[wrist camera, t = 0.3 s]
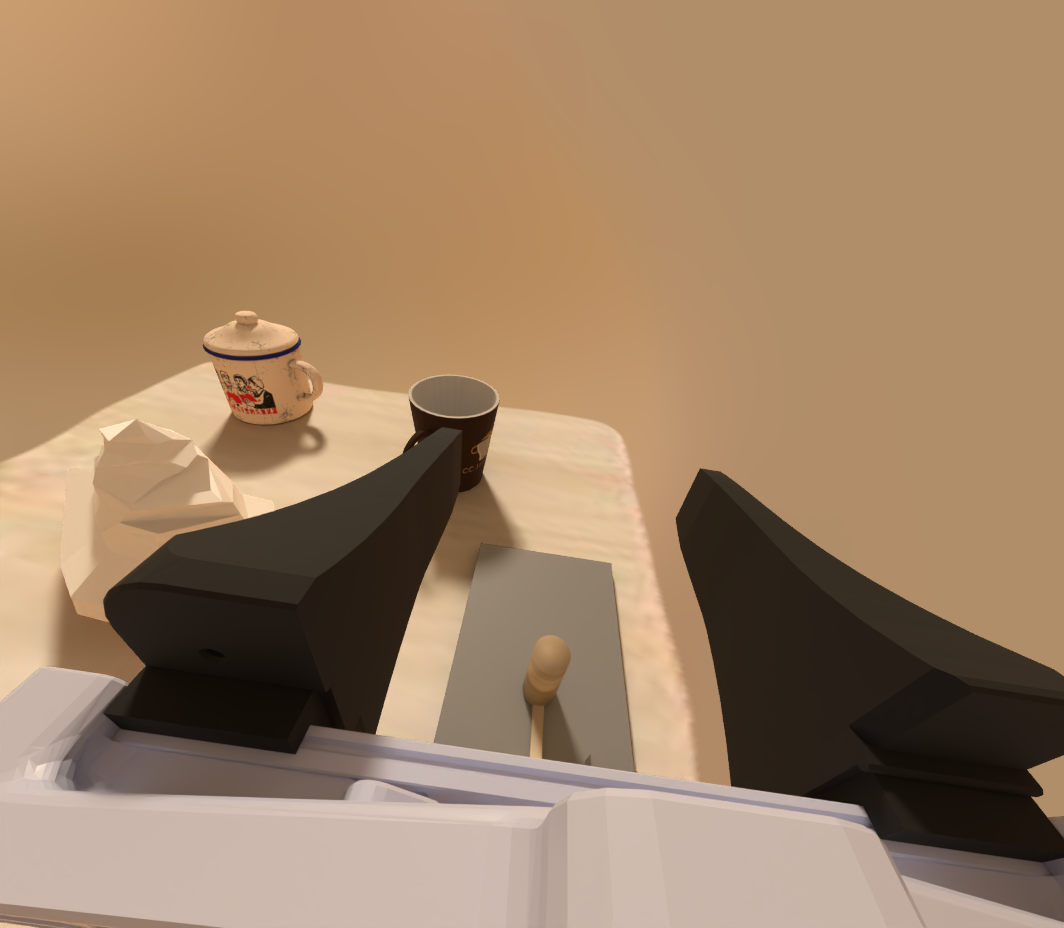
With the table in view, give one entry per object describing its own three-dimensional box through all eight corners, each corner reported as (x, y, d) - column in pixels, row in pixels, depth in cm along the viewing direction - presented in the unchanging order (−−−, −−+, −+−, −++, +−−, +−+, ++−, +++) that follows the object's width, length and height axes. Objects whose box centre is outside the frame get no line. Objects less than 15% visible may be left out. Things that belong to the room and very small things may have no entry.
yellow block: (579, 971, 16) (611, 978, 13) (465, 957, 16) (470, 961, 13) (575, 677, 26) (593, 641, 23) (503, 667, 26) (511, 629, 23)
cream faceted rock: (268, 492, 38) (274, 368, 31) (292, 620, 30) (308, 492, 23) (80, 507, 30) (29, 344, 23) (41, 689, 22) (-58, 522, 15)
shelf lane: (656, 1039, 16) (738, 1078, 11) (373, 1006, 16) (345, 1030, 11) (608, 569, 35) (632, 515, 30) (480, 550, 35) (485, 492, 30)
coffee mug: (464, 443, 47) (467, 368, 41) (506, 481, 43) (517, 404, 37) (372, 474, 40) (360, 391, 34) (412, 524, 36) (405, 438, 30)
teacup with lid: (210, 416, 44) (166, 315, 37) (269, 384, 51) (241, 295, 44) (303, 440, 43) (276, 341, 36) (350, 404, 50) (335, 316, 43)
